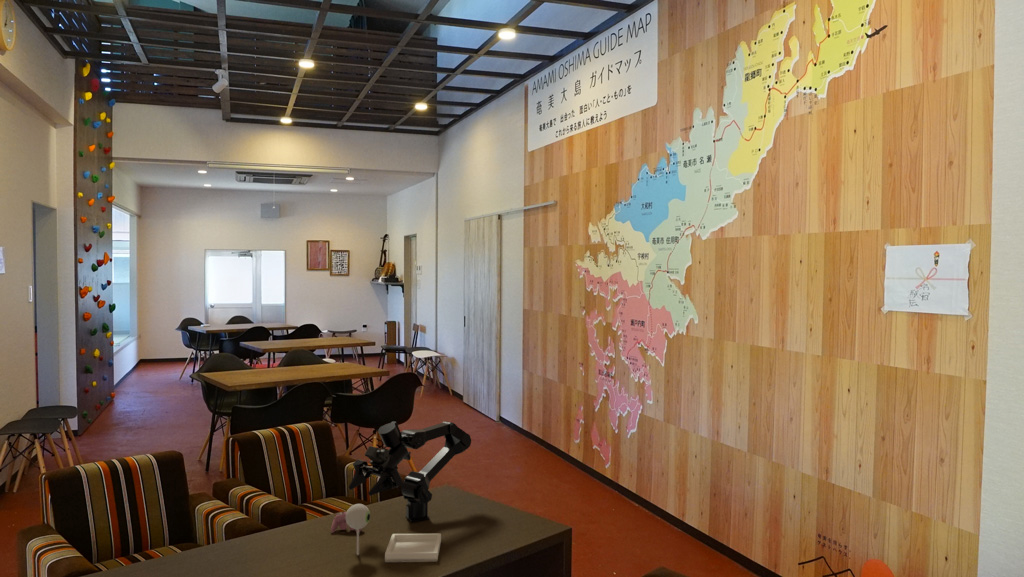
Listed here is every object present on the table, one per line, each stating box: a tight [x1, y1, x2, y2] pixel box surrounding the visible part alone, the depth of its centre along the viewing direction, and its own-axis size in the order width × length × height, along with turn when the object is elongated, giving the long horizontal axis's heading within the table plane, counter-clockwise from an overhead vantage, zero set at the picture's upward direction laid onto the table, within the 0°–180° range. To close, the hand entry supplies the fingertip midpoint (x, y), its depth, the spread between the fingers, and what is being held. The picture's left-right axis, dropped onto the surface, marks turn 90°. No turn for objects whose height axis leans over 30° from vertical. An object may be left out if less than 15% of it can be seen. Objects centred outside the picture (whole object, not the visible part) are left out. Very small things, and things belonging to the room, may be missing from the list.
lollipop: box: [346, 503, 371, 556], centre depth 198 cm, size 7×7×15 cm
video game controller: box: [330, 511, 362, 534], centre depth 217 cm, size 10×5×7 cm, turn 84°
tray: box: [384, 532, 442, 563], centre depth 200 cm, size 15×15×2 cm
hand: (359, 491), depth 208 cm, fingers open, 9 cm apart
